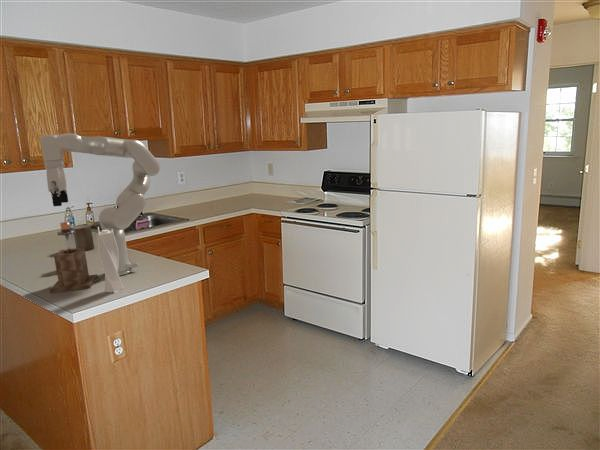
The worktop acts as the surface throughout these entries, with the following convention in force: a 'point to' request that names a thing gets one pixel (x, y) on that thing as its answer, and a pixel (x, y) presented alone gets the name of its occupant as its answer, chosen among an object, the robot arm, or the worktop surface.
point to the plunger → (66, 233)
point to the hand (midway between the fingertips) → (61, 204)
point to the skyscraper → (109, 260)
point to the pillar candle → (83, 237)
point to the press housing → (72, 271)
